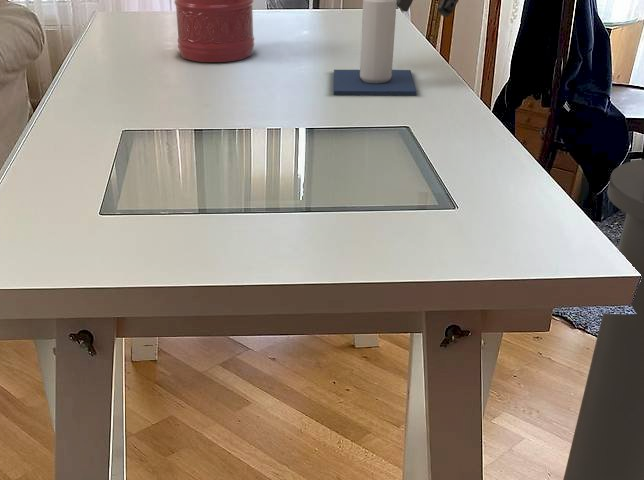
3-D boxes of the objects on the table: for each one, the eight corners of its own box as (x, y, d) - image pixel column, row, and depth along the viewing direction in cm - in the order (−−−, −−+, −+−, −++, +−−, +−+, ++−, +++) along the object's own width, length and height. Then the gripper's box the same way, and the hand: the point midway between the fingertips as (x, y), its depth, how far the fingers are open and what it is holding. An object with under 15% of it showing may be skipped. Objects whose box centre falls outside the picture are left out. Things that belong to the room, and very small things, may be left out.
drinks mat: (410, 73, 132) (410, 69, 132) (416, 95, 122) (416, 91, 122) (333, 73, 132) (333, 69, 132) (333, 94, 123) (333, 90, 122)
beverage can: (373, 74, 130) (378, -11, 123) (398, 79, 127) (404, -7, 120) (352, 80, 127) (356, -7, 120) (377, 86, 124) (382, -2, 117)
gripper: (424, -108, 126) (374, -7, 128) (498, -110, 116) (443, 0, 118) (450, -77, 131) (401, 20, 133) (523, -75, 121) (470, 30, 123)
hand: (421, 11), depth 125 cm, fingers open, 8 cm apart
